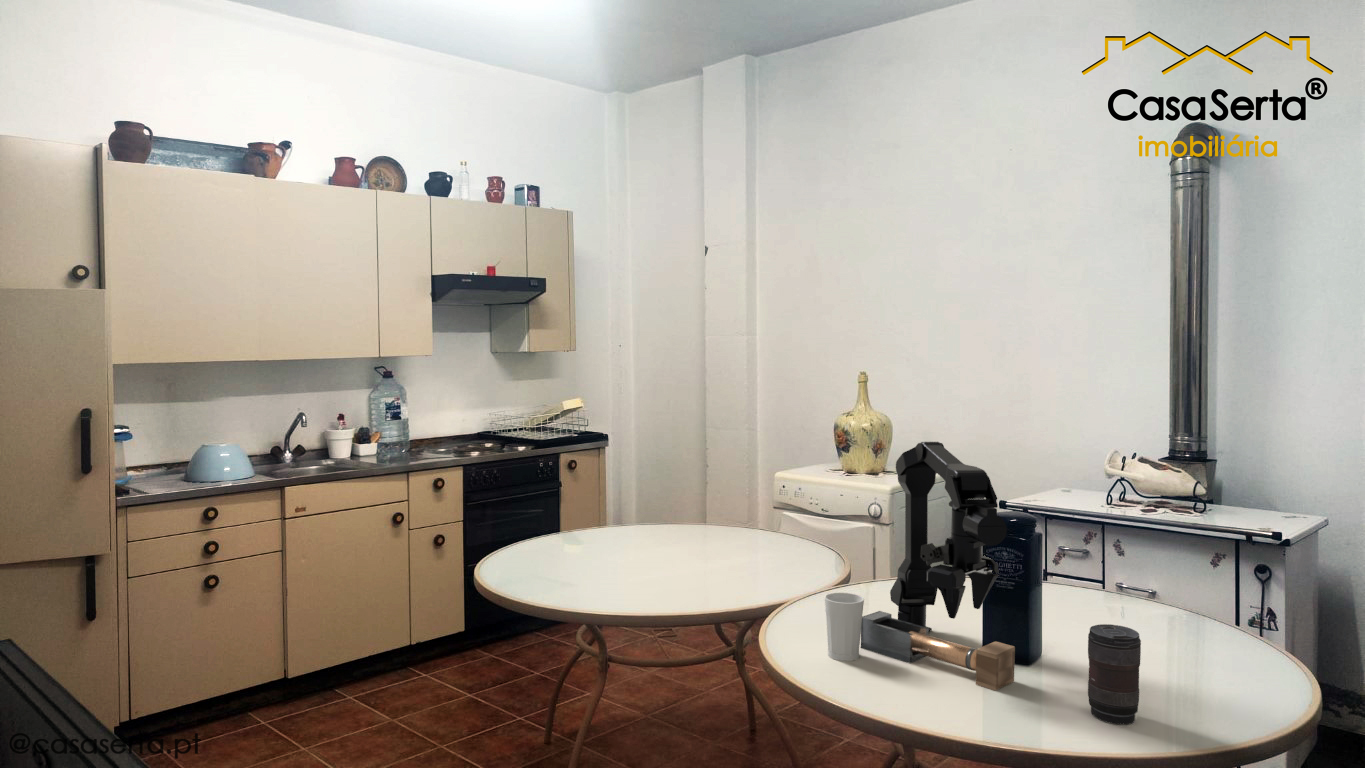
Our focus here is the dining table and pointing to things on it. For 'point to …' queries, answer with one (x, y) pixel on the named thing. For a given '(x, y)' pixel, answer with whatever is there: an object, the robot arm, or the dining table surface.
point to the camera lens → (1113, 673)
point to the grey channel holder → (890, 636)
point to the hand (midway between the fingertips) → (964, 613)
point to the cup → (843, 625)
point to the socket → (995, 665)
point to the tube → (944, 650)
